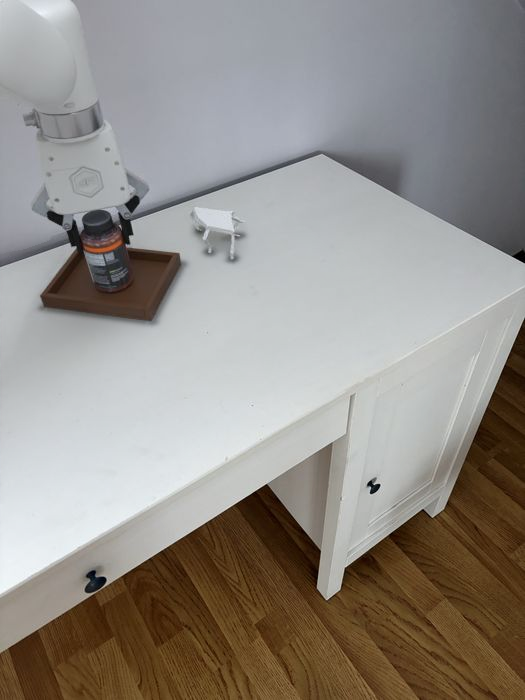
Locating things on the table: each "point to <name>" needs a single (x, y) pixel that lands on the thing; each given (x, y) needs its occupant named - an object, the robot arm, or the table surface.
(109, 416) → the table surface
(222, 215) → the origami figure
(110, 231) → the supplement bottle
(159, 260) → the serving tray
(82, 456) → the table surface
